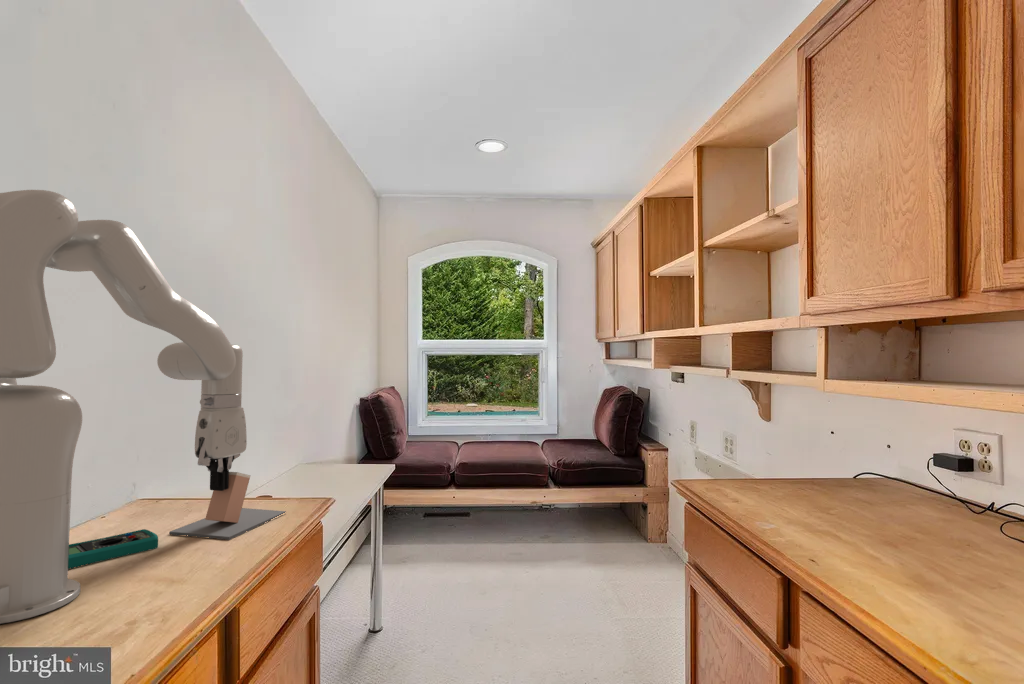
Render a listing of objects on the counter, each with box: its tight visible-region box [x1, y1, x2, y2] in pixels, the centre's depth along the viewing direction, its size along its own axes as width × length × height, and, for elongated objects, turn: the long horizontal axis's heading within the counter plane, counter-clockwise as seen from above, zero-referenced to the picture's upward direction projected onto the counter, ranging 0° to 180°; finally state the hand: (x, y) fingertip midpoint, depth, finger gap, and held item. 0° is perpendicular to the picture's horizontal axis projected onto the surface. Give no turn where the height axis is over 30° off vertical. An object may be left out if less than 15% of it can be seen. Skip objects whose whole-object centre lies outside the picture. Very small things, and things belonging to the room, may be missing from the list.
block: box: [204, 471, 251, 523], centre depth 112 cm, size 4×4×10 cm
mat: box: [169, 507, 287, 541], centre depth 113 cm, size 18×14×1 cm
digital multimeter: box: [68, 528, 159, 570], centre depth 95 cm, size 7×15×3 cm, turn 141°
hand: (219, 489), depth 109 cm, fingers closed
